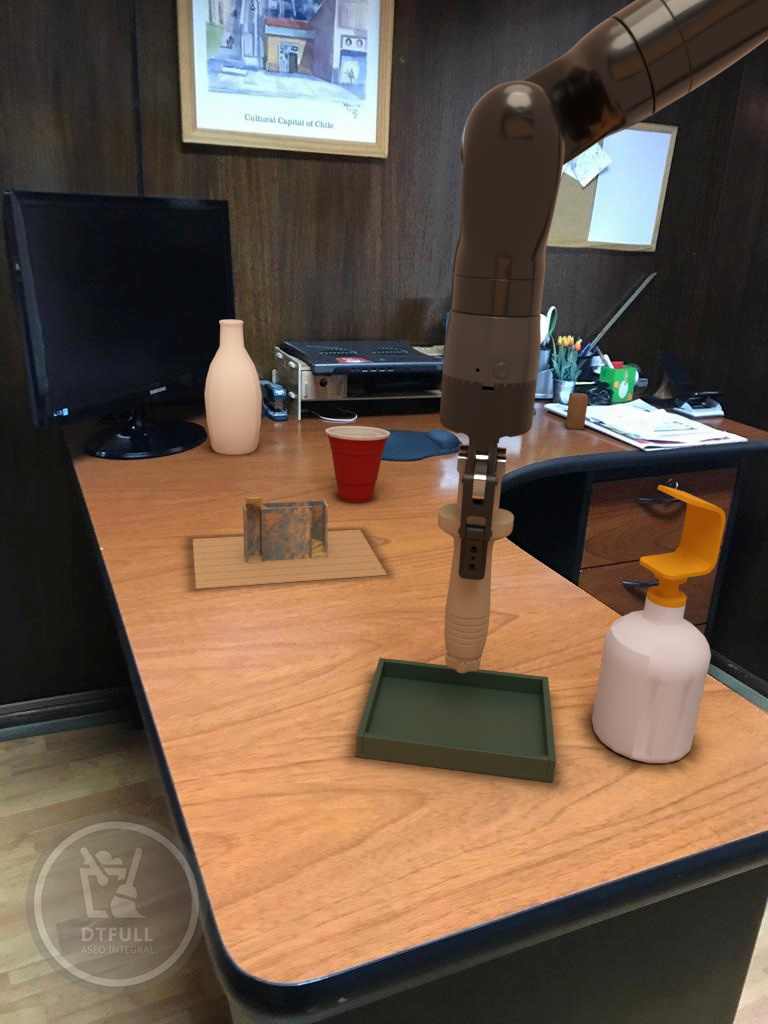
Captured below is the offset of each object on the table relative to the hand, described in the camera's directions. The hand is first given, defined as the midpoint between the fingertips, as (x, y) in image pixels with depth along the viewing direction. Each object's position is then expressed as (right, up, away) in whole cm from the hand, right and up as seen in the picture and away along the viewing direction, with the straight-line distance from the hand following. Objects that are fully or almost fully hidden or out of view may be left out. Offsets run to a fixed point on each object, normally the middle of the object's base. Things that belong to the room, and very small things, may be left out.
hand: (472, 563), depth 68 cm
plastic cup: (-13, +7, +65) cm, 67 cm away
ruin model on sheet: (-21, -2, +41) cm, 46 cm away
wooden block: (+38, +25, +118) cm, 127 cm away
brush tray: (-1, -16, +6) cm, 17 cm away
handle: (0, -10, +4) cm, 11 cm away
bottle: (-38, +17, +89) cm, 98 cm away
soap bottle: (+17, -17, +6) cm, 24 cm away
